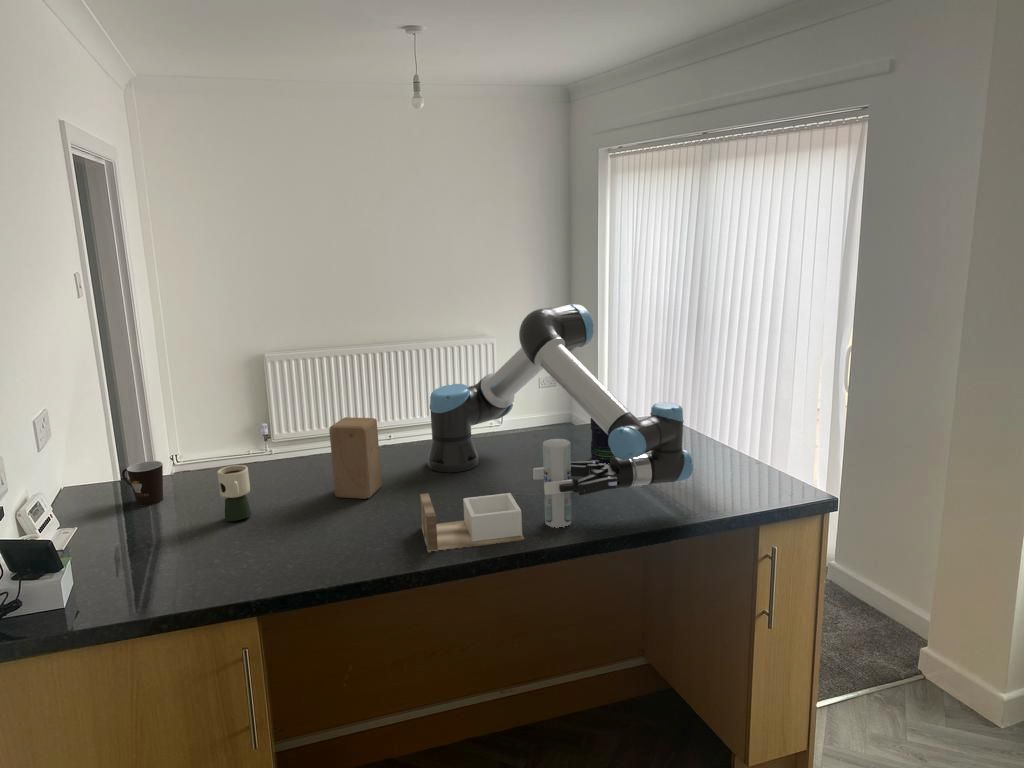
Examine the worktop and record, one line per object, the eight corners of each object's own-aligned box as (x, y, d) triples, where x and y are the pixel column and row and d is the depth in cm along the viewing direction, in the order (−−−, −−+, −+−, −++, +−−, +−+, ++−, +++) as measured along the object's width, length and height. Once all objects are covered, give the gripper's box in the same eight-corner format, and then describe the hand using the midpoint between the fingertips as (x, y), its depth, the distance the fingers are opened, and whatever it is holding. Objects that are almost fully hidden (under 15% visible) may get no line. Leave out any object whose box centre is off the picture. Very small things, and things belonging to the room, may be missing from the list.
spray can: (544, 517, 179) (542, 438, 174) (571, 516, 179) (569, 438, 174) (544, 528, 172) (542, 447, 168) (572, 528, 172) (571, 446, 168)
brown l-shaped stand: (421, 527, 175) (419, 494, 174) (511, 516, 180) (509, 484, 178) (427, 552, 162) (425, 516, 160) (524, 539, 167) (523, 505, 165)
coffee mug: (173, 500, 198) (167, 465, 196) (139, 510, 192) (134, 474, 190) (155, 490, 206) (150, 456, 204) (123, 499, 200) (117, 464, 197)
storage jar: (626, 464, 214) (626, 415, 211) (592, 465, 214) (592, 416, 211) (621, 453, 224) (621, 406, 221) (589, 454, 224) (588, 407, 221)
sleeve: (464, 521, 176) (463, 498, 175) (511, 516, 179) (510, 492, 177) (472, 541, 165) (471, 516, 164) (522, 535, 168) (521, 510, 166)
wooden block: (369, 500, 193) (363, 427, 189) (334, 498, 195) (327, 426, 191) (383, 486, 203) (377, 417, 198) (349, 485, 205) (343, 416, 200)
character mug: (221, 513, 188) (215, 465, 185) (250, 508, 191) (245, 460, 188) (225, 529, 178) (218, 478, 175) (256, 523, 181) (250, 473, 178)
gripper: (647, 502, 167) (552, 514, 162) (612, 470, 188) (528, 480, 183) (647, 471, 165) (551, 482, 161) (612, 443, 186) (527, 451, 182)
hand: (539, 481), depth 172 cm, fingers open, 9 cm apart
